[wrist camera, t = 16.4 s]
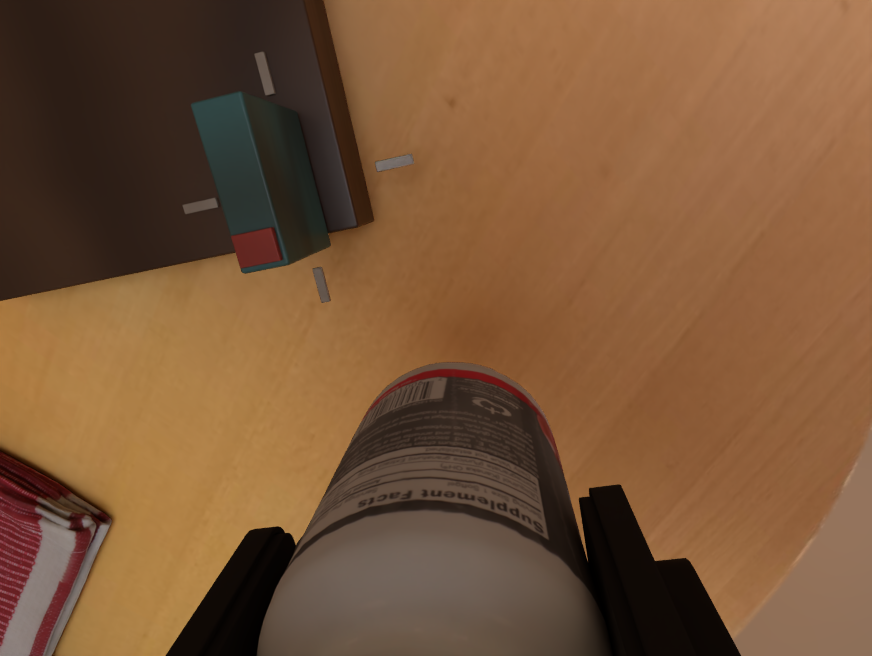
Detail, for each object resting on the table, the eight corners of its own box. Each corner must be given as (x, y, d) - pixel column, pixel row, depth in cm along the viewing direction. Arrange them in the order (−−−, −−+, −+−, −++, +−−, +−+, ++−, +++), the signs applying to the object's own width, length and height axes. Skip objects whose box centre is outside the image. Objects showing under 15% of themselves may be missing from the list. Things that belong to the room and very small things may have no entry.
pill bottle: (543, 538, 15) (647, 1164, 5) (360, 520, 15) (160, 1073, 6) (566, 363, 13) (765, 815, 4) (361, 348, 14) (92, 722, 4)
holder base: (325, -322, 17) (292, -427, 14) (444, 267, 23) (438, 281, 20) (-163, -141, 20) (-276, -197, 17) (44, 343, 26) (-15, 365, 23)
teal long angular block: (256, 120, 19) (183, 101, 14) (297, 110, 18) (236, 88, 14) (293, 254, 20) (237, 276, 15) (332, 246, 20) (286, 266, 15)
